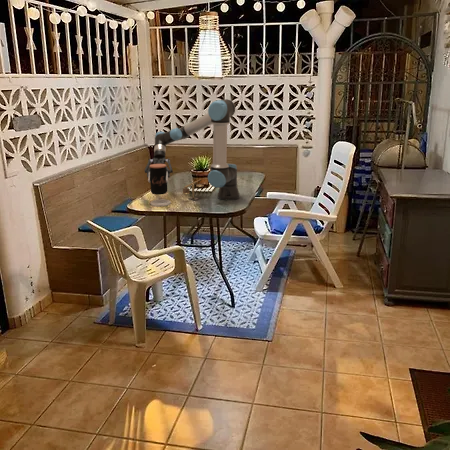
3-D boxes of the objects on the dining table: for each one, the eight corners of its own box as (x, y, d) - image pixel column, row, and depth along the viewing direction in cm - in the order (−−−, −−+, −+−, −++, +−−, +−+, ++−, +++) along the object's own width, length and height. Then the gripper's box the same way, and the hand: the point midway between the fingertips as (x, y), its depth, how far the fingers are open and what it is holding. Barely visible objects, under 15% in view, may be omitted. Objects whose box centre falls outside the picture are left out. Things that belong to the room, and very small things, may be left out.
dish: (174, 203, 310) (174, 201, 309) (158, 207, 301) (158, 205, 301) (162, 200, 319) (162, 198, 318) (146, 204, 310) (146, 201, 310)
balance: (206, 198, 323) (205, 179, 319) (186, 202, 312) (185, 183, 308) (200, 196, 327) (199, 178, 323) (180, 201, 316) (179, 182, 312)
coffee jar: (151, 195, 302) (149, 167, 297) (150, 191, 312) (148, 164, 307) (168, 194, 304) (167, 166, 299) (166, 190, 314) (165, 163, 309)
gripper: (177, 156, 316) (176, 184, 306) (143, 156, 316) (140, 184, 306) (176, 149, 310) (175, 178, 300) (141, 149, 310) (138, 178, 299)
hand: (158, 181), depth 303 cm, fingers closed on coffee jar, 11 cm apart
